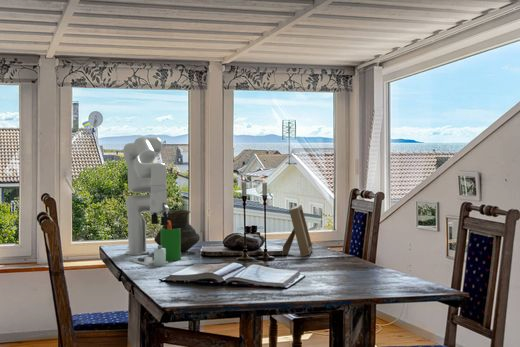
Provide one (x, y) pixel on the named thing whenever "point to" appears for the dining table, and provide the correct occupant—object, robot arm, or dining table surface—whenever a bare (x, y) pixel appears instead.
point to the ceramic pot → (187, 231)
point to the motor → (171, 242)
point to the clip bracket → (144, 260)
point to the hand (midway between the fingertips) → (159, 224)
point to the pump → (159, 256)
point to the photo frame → (298, 233)
